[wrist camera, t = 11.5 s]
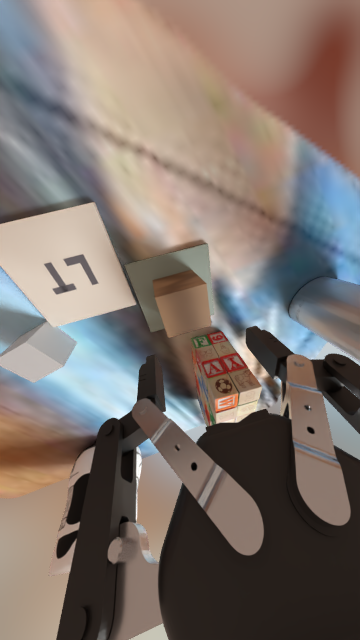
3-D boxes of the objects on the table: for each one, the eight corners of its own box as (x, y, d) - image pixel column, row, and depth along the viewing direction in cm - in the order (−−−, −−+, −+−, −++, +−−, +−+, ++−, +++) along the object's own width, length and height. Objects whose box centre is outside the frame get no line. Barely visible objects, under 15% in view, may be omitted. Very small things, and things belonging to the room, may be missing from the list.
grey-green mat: (206, 243, 20) (207, 243, 20) (212, 312, 26) (214, 314, 26) (124, 264, 20) (124, 265, 19) (151, 330, 26) (151, 332, 25)
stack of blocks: (220, 393, 41) (245, 449, 30) (197, 399, 40) (215, 459, 30) (221, 329, 29) (264, 387, 19) (189, 337, 28) (215, 401, 18)
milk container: (148, 449, 50) (150, 545, 35) (95, 466, 49) (73, 573, 34) (130, 427, 40) (122, 545, 26) (63, 446, 39) (14, 583, 24)
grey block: (48, 319, 21) (25, 342, 17) (77, 341, 24) (63, 366, 20) (21, 335, 22) (-8, 361, 18) (52, 356, 25) (33, 382, 20)
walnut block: (191, 269, 21) (206, 283, 16) (197, 304, 24) (211, 325, 19) (152, 280, 21) (154, 297, 16) (163, 314, 24) (168, 338, 19)
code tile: (95, 202, 16) (93, 202, 15) (136, 302, 23) (136, 304, 22) (-24, 230, 15) (-30, 230, 15) (55, 325, 22) (52, 327, 21)
